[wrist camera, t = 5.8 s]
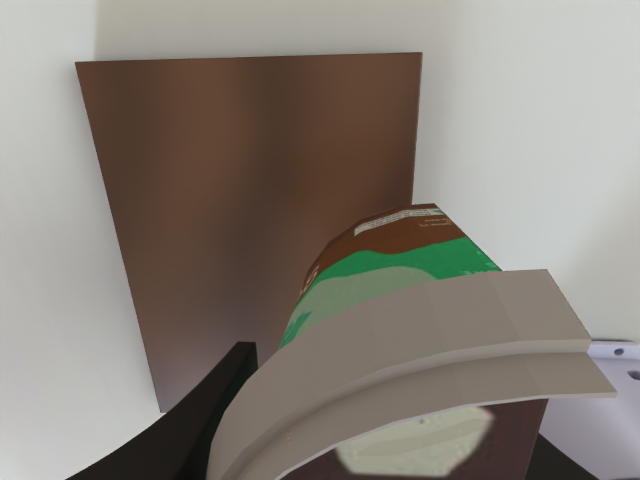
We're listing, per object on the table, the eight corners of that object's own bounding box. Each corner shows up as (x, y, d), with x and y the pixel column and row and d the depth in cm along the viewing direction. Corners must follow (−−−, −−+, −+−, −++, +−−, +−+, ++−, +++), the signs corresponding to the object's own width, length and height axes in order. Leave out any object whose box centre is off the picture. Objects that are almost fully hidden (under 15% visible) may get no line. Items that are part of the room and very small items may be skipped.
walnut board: (417, 53, 18) (422, 52, 17) (393, 405, 27) (395, 423, 26) (93, 62, 20) (74, 61, 18) (169, 396, 28) (160, 413, 27)
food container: (262, 159, 14) (91, 332, 5) (439, 161, 13) (633, 355, 4) (277, 417, 19) (209, 749, 10) (408, 424, 18) (467, 778, 9)
